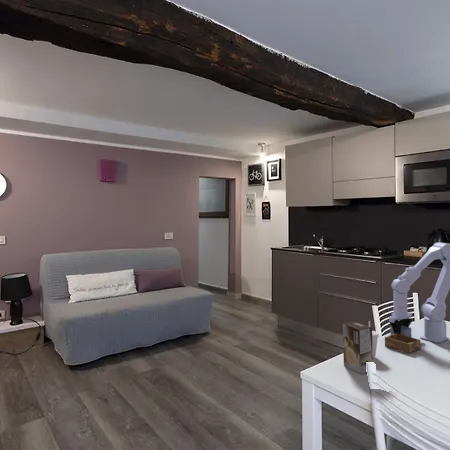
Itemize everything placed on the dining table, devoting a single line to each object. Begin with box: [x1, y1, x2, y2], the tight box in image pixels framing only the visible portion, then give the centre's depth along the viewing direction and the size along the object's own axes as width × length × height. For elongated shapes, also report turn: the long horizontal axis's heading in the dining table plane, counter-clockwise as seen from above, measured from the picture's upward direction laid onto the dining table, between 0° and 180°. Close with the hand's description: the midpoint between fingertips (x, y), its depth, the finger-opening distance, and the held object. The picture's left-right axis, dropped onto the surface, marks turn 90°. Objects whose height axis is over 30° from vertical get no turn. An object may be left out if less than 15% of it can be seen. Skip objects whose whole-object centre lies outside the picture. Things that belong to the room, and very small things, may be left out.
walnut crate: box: [384, 333, 421, 355], centre depth 149 cm, size 9×11×4 cm
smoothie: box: [368, 320, 380, 359], centre depth 141 cm, size 6×6×14 cm
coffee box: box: [342, 321, 374, 375], centre depth 131 cm, size 9×6×16 cm
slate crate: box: [389, 325, 412, 337], centre depth 160 cm, size 5×7×6 cm
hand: (400, 335), depth 160 cm, fingers closed on slate crate, 5 cm apart
